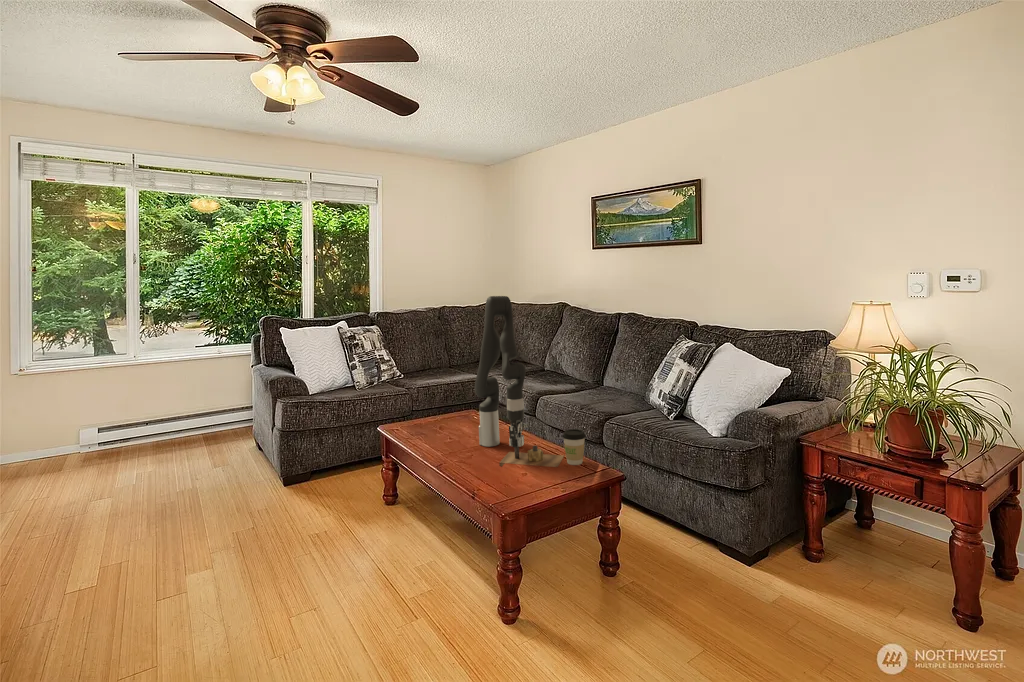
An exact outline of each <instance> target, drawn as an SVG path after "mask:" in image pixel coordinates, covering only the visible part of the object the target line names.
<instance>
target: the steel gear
mask: <svg viewBox="0 0 1024 682" xmlns="http://www.w3.org/2000/svg"><path fill="white" fill-rule="evenodd" d="M513 436H514V435H513ZM508 442H509V447H512V439H510V437H509V441H508ZM524 444H525V435H524V434H517V447H519V448H520V447H523V446H524Z"/></svg>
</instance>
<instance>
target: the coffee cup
mask: <svg viewBox="0 0 1024 682" xmlns="http://www.w3.org/2000/svg"><path fill="white" fill-rule="evenodd" d="M562 438H563V441H564V444H563V446H564V451H565V459H566V463H567V464H568V465H569V466H578V465H582V464H583V460H584V451H585V438H587V437H586V433H585V431H584V430H582V429H578V428H571V429H566V430H564V432H563V434H562Z"/></svg>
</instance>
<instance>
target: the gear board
mask: <svg viewBox="0 0 1024 682" xmlns="http://www.w3.org/2000/svg"><path fill="white" fill-rule="evenodd" d="M564 457H565V455H561V454H560V455H559V454H548V453H546V454H545V453H544V451H543V449H541V448H538V445H532V448H530V449H529V450H527V452H521V451H520V447H514V451H509V452H507V453H506V454H505V456H504V457H503V458H502V459H501V460H500V461H499V466H500V467H503V466H504V465H505V464H511V465H512V464H514V465H526V466H536V467H537V466H539V467H548V468H549V467H550V468H551V467H552V468H558V467H559V466H560V464H561V463H562V461H563V459H564Z"/></svg>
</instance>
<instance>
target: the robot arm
mask: <svg viewBox="0 0 1024 682" xmlns="http://www.w3.org/2000/svg"><path fill="white" fill-rule="evenodd" d="M513 316H514V315H513V306H512V301H511V299H510V297H509V296H506V295H492V296H491V295H490V296H488V297H487V298H486V301H485V308H484V326H483V334H482V340H481V347H480V355H479V363H478V364H479V365H478V368H477V373H476V377H475V380H474V381H475V383H474V392H475V395H476V396H477V397H478V398H481V399H482V398H486V399H485V400H483V401H482V402H481V403H480V404H479V405H478V409H479V410H478V411H479V425H478V438H479V439H478V441H479V444H478V445H479V446H482V447H488V448H489V447H496V446H498V445H500V441H501V439H500V420H499V419H500V418H499V405H500V385H499V384H500V383H499V381H498V379H497V378H496V377H495V376H490V377H489V375H490V371H491V370H492V369H493V367H494V366H495V364H496V363H497V362H498V360H499V358H500V356H501V358H502V360H501V361H502V363H501V375H502V377H503V379H504V380H506V381H511V380H514V382H513V383H511V384H508V385H507V386H506V419H507V420H509V421H511V422H510V425H509V426H508V434H509V438H510V439H512V446H511V447H512V448H515V447H517V434H521V435H523V434H522V433H523V431H524V430H523V429H524V427H523V426H524V425H523V424H524V418H525V407H524V406H525V405H524V404H525V403H524V393H523V388H524V383H525V378H526V373H527V368H526V365H525V364H524V363H523V362H515V363H514V362H511V363H510V361H512V360H514V359H516V358H518V356H519V353H518V352H519V351H518V348H517V343H516V339H515V330H514V318H513ZM495 317H503V319H504V325H503V329H502V332H501V334H499V333H498V331H497V329H496V327H495ZM513 435H514V436H513Z"/></svg>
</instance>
